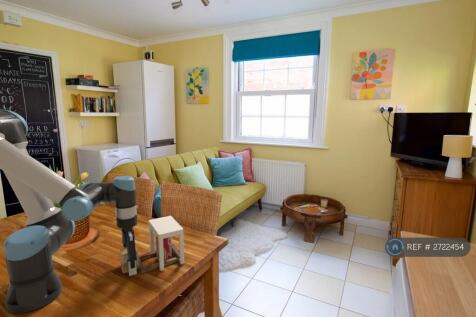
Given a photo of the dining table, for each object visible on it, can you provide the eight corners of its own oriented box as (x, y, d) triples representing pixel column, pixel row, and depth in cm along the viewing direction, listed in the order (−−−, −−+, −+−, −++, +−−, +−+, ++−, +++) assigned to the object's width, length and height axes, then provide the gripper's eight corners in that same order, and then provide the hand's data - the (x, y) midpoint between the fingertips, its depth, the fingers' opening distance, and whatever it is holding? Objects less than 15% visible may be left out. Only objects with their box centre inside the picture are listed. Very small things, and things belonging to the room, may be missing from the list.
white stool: (160, 270, 104) (158, 234, 102) (150, 252, 118) (148, 220, 115) (184, 263, 110) (183, 229, 107) (171, 246, 123) (170, 215, 120)
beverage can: (167, 263, 110) (166, 236, 107) (154, 261, 111) (152, 235, 109) (174, 255, 116) (173, 230, 113) (161, 253, 117) (160, 228, 115)
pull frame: (124, 278, 100) (123, 259, 98) (119, 263, 109) (118, 246, 107) (182, 260, 112) (181, 243, 110) (173, 248, 121) (173, 232, 119)
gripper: (143, 224, 94) (146, 279, 99) (131, 205, 113) (134, 252, 117) (121, 228, 90) (125, 286, 95) (112, 208, 109) (116, 257, 113)
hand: (130, 267), depth 106 cm, fingers open, 9 cm apart
